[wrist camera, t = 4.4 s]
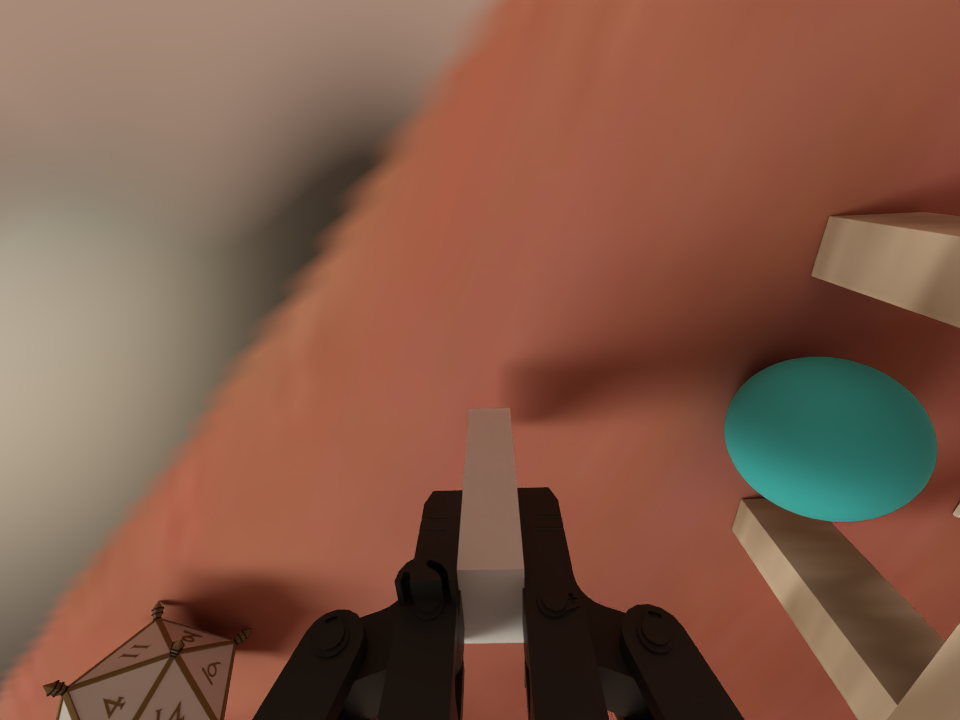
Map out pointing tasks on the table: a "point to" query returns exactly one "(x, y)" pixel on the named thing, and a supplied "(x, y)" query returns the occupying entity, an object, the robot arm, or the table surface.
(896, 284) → the bridge
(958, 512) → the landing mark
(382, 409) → the table surface
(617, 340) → the table surface
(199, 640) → the game die
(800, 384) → the ball
